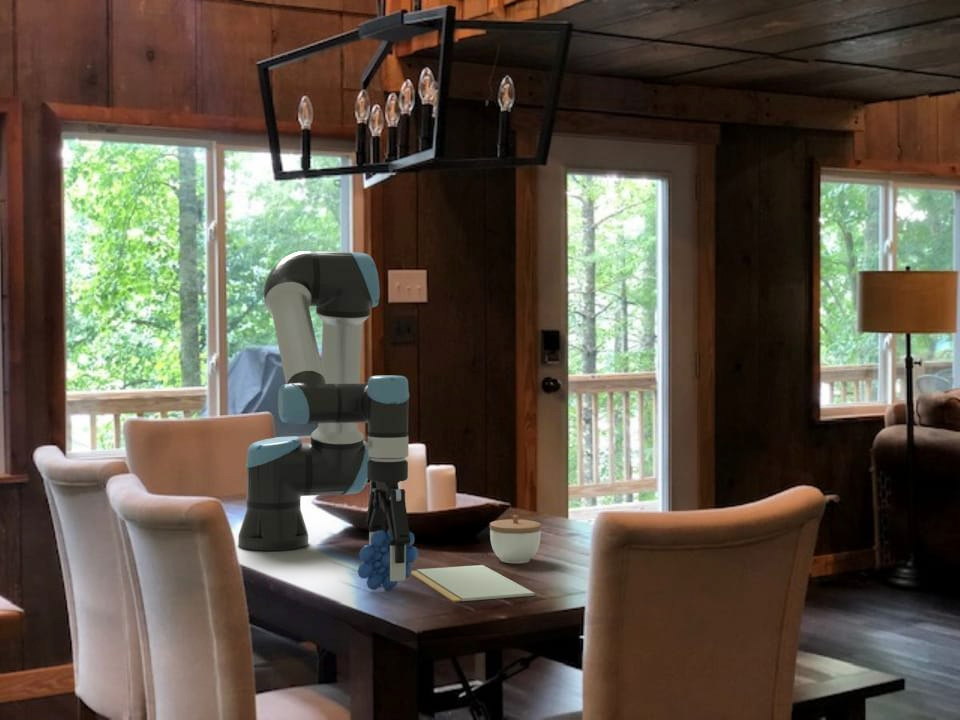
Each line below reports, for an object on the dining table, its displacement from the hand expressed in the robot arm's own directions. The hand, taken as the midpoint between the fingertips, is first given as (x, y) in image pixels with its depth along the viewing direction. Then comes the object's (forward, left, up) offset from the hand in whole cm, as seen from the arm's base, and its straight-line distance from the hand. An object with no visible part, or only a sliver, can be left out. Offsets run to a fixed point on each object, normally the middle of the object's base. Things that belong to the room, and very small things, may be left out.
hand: (386, 573), depth 232 cm
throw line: (0, +9, -3) cm, 9 cm away
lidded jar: (-17, +33, -3) cm, 37 cm away
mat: (0, +17, -3) cm, 17 cm away
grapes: (0, 0, -3) cm, 3 cm away
